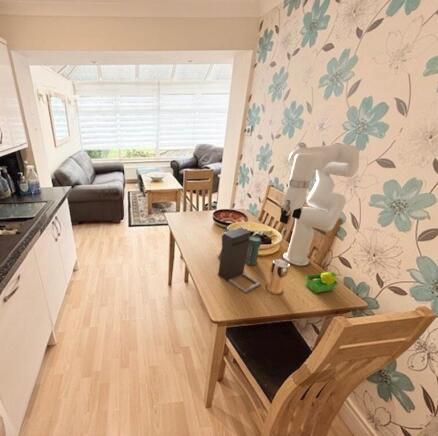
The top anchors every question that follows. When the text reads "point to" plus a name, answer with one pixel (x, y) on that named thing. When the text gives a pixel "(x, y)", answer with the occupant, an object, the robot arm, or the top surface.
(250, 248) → the can
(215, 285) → the top surface
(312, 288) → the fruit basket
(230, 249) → the coffee maker
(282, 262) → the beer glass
